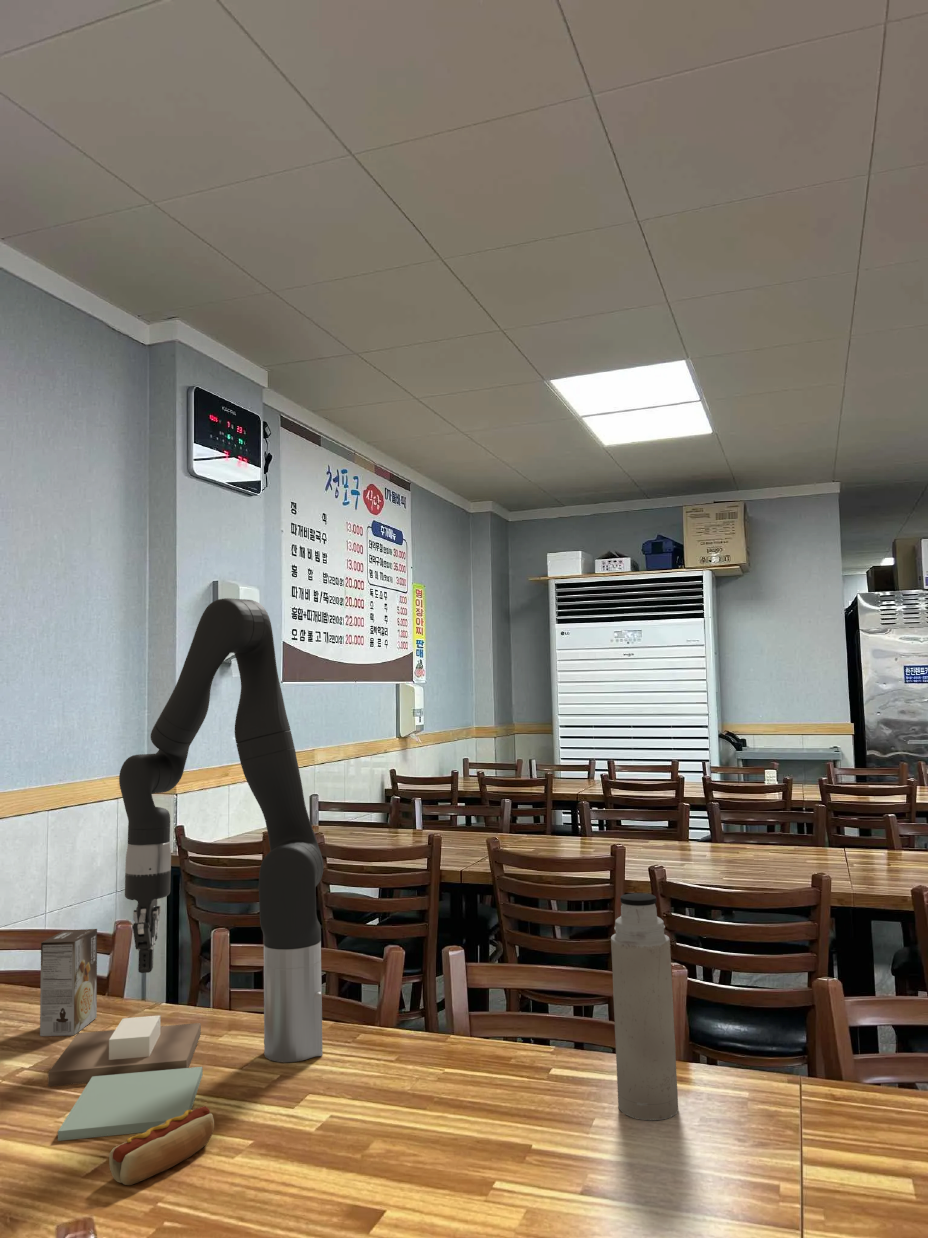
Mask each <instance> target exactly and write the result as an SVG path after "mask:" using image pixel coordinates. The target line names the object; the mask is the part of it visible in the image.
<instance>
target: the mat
mask: <svg viewBox="0 0 928 1238" xmlns="http://www.w3.org/2000/svg"><path fill="white" fill-rule="evenodd" d="M202 1077H203V1066H196V1067H195V1066H192V1067H189V1068H182V1069H170V1070H159V1071H148V1072H137V1073H126V1074H115V1075H104V1076H93V1077H92V1078H91V1079H90V1081H89V1082H88V1083H86V1086H85V1087H84V1088H83V1090H82V1092H81V1094H80V1095H79V1097H78V1099H77V1100H76V1102H75V1103H74V1105H73V1106H72V1108H71V1110H70V1111H69V1113H68V1114H67V1116H66V1118H65V1119H64V1121H63V1123H61V1126H60V1128H59V1129H58V1131H57V1142H58V1141H59V1142H60V1141H71V1140H80V1139H89V1138H100V1137H110V1136H112V1137H113V1136H120V1135H129V1134H130V1135H131V1134H142V1133H144V1132H146V1131H147V1130H148V1129H150V1128H152V1127H156V1126H158V1125H161V1124H163V1123H165V1122H166V1121H167V1120H169V1119H172V1118H174V1117H178V1116H181V1115H183V1114H184V1112H185V1111H187V1110H193V1109H192V1108H193V1105H194V1102H195V1099H196V1096H197V1093H198V1090H199V1088H200V1087H199V1086H200V1084H201V1080H202Z"/></svg>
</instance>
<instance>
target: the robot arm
mask: <svg viewBox="0 0 928 1238" xmlns="http://www.w3.org/2000/svg"><path fill="white" fill-rule="evenodd" d="M198 621H199V622H198V624H197V627H196V629H195V632H194V636H193V638H192V640H191V641H192V642H191V643H190V647H189V650H188V652H187V655H186V658H185V660H184V663H183V666H182V669H181V671H180V674H179V677H178V680H177V681H176V684H175V685H174V689H173V691H172V693H171V694H170V697H169V698H168V700H167V702H166V704H165V706H164V707H163V709H162V711H161V713H160V715H159V716H158V718H157V720H156V722H155V724H154V726H153V727H152V730H151V731H150V740H151V743H152V744H153V745H154V746H155V748H157V749H158V750H157V752H156V753H144V754H134V755H130V757H128V758H126V759H125V761H124V762H123V763H122V765H121V766H120V767H121V768H120V771H119V777H118V781H119V783H118V784H119V788H120V793H121V797H122V801H123V804H124V809H125V813H126V816H127V824H128V825H127V846H126V847H127V849H126V853H125V865H124V866H125V869H124V871H125V872H124V875H125V876H124V897H125V899H127V900H130V901H136V902H137V906H136V909H134V910H133V915H132V916H133V917H132V919H133V922H134V923H133V925H132V931H133V932H132V933H133V939H134V947H135V950H137V951H138V967H137V970H138V973H140V974H147V973H151V972H152V970H153V969H154V950H155V949H154V948H155V947H156V942H157V939H158V932H159V925H160V924H159V923H160V916H161V910H162V909H161V908H162V907H161V905H158V900H159V899H164V898H166V897H168V896H169V895H170V894H171V883H172V881H171V879H172V878H171V876H172V875H171V873H172V867H171V866H172V852H171V850H172V849H171V841H170V840H171V814H170V811H169V810H168V809H166V808H164V807H159V806H156V805H155V802H154V798H153V795H154V794H162V793H167V792H169V791H171V790H172V789H174V788H175V787H176V786H177V785H178V783H179V782H180V781H181V779H182V777H183V773H184V770H185V767H186V763H187V758H188V754H189V749H190V745H191V744H192V742H194V739H195V737H196V736H197V734H198V733H199V730H200V729H201V727H202V726H203V723H204V721H205V719H206V716H207V714H208V711H209V707H210V700H211V691H212V690H211V688H212V684H213V681H214V678H215V675H216V673H217V671H218V670H219V668H220V667H221V665H222V664H223V663H224V661H225V660H226V659H227V657H228V656H229V655H230V654H234V656H235V660H236V663H237V668H238V673H239V678H240V695H239V701H238V705H237V709H236V714H235V720H234V721H235V722H234V738H235V744H236V749H237V753H238V754H237V755H238V758H239V762H240V765H241V769H242V772H243V776H244V778H245V780H246V782H247V784H248V786H249V789H250V791H251V793H252V794H253V796H254V799H256V802H257V803H258V806H259V808H260V811H261V812H262V814H263V817H264V821H265V825H266V829H267V836H268V842H269V849H270V850H269V851H268V853H267V854H266V855H265V856H264V858H263V859H262V862H261V865H260V866H259V867H260V868H259V872H258V873H259V874H258V904H259V905H258V906H259V925H260V929H261V932H262V935H263V1016H264V1017H263V1022H264V1023H263V1024H264V1025H263V1027H264V1028H263V1034H264V1036H263V1045H264V1049H263V1050H264V1057H265V1058H266V1059H268V1060H270V1061H273V1062H278V1063H293V1062H300V1061H305V1060H308V1059H309V1060H310V1059H312V1058H314V1057H321V1056H323V1006H322V1005H323V1003H322V1002H323V1001H322V999H323V997H322V996H323V995H322V994H323V991H322V987H323V986H322V930H321V929H322V927H321V924H320V921H319V919H318V915H317V896H316V895H317V893H316V891H317V890H316V887H317V886H318V885H319V883H320V882H321V880H322V877H323V873H324V859H323V856H322V852H321V849H320V847H319V843H318V840H317V838H316V834H315V832H314V829H313V826H312V823H311V820H310V818H309V817H310V816H309V814H308V810H307V806H306V802H305V801H306V800H305V796H304V789H303V784H302V779H301V774H300V773H301V772H300V768H299V763H298V759H297V752H296V749H295V744H294V739H293V735H292V731H291V727H290V722H289V719H288V715H287V711H286V705H285V702H284V697H283V696H284V695H283V692H282V688H281V687H282V686H281V683H280V678H279V674H278V667H277V660H276V650H275V644H274V634H273V627H272V622H271V619H270V616H269V614H268V612H267V609H266V608H265V607H264V606H263V605H262V604H261V603H260V602H258V601H255V600H252V599H245V598H244V599H242V598H229V597H227V598H224V597H223V598H220V599H218V598H217V599H216V600H213V601H212V602H211V603H210V604H208V605H207V607H206V608H205V609H204V611H203V613H202V615H201V617H200V619H199V620H198Z"/></svg>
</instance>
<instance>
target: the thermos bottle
mask: <svg viewBox="0 0 928 1238" xmlns="http://www.w3.org/2000/svg"><path fill="white" fill-rule="evenodd" d="M619 897H620V903H621V906H620V913H621V914H620V916H618V917H617V918H616V919H615V922H614V923H615V925H614V927H613V928H614V931H615V933H614V934H612V935H611V937H610V945H611V963H612V964H611V965H612V970H611V971H612V991H613V992H612V993H613V994H612V995H613V1013H614V1016H613V1017H614V1037H615V1039H614V1040H615V1057H616V1059H615V1060H616V1061H615V1062H616V1084H617V1085H616V1086H617V1104H618V1105H617V1106H618V1108H619V1111H620V1112H622V1114H624V1115H626V1116H628V1117H630V1118H632V1119H638V1120H642V1121H662V1120H666V1119H670V1118H672V1117H674V1116H675V1115H676V1114H677V1113H678V1111H679V1096H678V1095H679V1094H678V1079H677V1078H678V1076H677V1056H676V1040H675V1039H676V1037H675V1034H676V1033H675V1019H674V1017H675V1016H674V1003H673V1002H674V999H673V997H674V996H673V978H672V960H671V959H672V958H671V957H672V956H671V942H670V941H671V940H670V937H669V936H668V935H667V934H665V928H666V926H665V924H664V920H663V919H662V918H661V917H659V916H658V912H657V909H658V908H657V906H656V904H657V897H656V896H655V895H654V894H651V893H650V894H649V893H640V892H638V893H637V892H635V893H633V892H632V893H625V894H622V895H620V896H619Z"/></svg>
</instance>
